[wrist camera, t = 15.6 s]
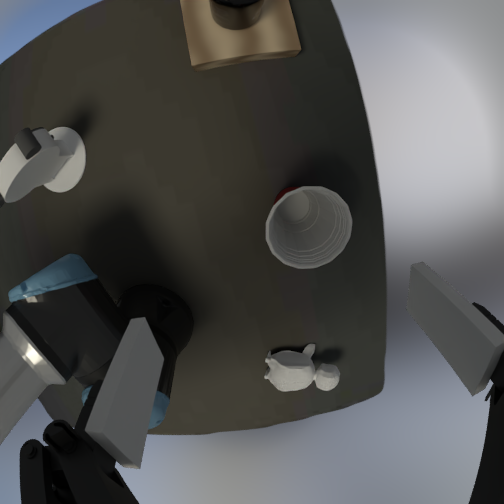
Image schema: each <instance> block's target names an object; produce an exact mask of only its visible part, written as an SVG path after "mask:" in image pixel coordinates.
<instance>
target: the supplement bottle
mask: <svg viewBox="0 0 504 504" xmlns="http://www.w3.org/2000/svg"><path fill="white" fill-rule="evenodd" d="M263 3H264V0H209V4H210V10H211V15H212V18H213V20H214V21H215V22H216V23H217V24H218V25H219V26H221V27H223V28H225V29H229V30H242V29H246V28H248V27H250V26H252V25H254V24H255V23H256V22H257V21H258V19H259V17H260V15H261V11H262V7H263Z"/></svg>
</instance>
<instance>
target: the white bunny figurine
mask: <svg viewBox="0 0 504 504" xmlns="http://www.w3.org/2000/svg"><path fill="white" fill-rule="evenodd" d="M314 351H315V344H312V343H311V344H309V345H307V346H306V347H305V349H304V351H303V352H302V353H298V352H294V351H290V350H289V351H288V350H287V351H281V352H278V353H275V354H273V355H272V356H271V351H269V353H268V355H267V358H266V360H265V362H267V363H268V365H269V367H270V369H269V368H268V369H267V371H266V374H265V379H269V380H270V382H271V383H272V384H273V385H274V386H275V387H276V388H277V389H279V390H280V391H293V390H295V391H297V390H300V389H303V388H306V387H308V386H309V385H310V384H311V383H312V381H313V380H315V381H316V386H317V387H318V388H320V389H322V390H325V391H328V390H331V389H333V388H334V387H335V386H336V385H337V384H338V382H339V376H340V372H339V370H338V368H337V367H336V366H335V365H332V364H325V363H322V364H321V365H320V366H319V368H318V369H317V371H315V367H314V364H313V362H312V360H311V356H312V355H313V353H314Z"/></svg>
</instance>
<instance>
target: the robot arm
mask: <svg viewBox="0 0 504 504" xmlns="http://www.w3.org/2000/svg"><path fill="white" fill-rule="evenodd" d="M8 295H9V300H10V302H13V303H12V305H11V306H10V307H9V308H8V309H7V310H6V311H5V312H4V315H3V330H2V332H1V333H0V445H1V443H2V442H3V441H4V439H5V438H6V437H7V435H8V434H9V433H10V431H11V430H12V429H13V427H14V426H15V425H16V423H17V422H18V421H19V420H20V419H21V417H22V416H23V415H24V413H25V412H26V411H27V410H28V408H29V407H30V406H31V405H32V403H33V402H34V401H35V400H36V399H37V397H38V396H39V395H40V394H41V393H42V391H43V390H44V389H45V388H46V387H47V385H49V384H65V383H66V382H67V381H68V380H69V379H70V378H71V376H72V375H73V376H74V377H75V378H76V379H77V380H78V381H79V383H81V384H82V385H83V386H84V388H85V389H84V390H83V392H82V402H83V405H84V406H83V408H82V410H81V413H80V415H79V418H78V420H77V423H76V425H75V428H74V429H73V428H72V427H71V426H70V425H69V424H68V422H66V421H64V420H55V421H53V422H52V423H50V424H49V425H48V426H47V427H46V429H45V430H44V433H43V440H44V441H45V442H46V443H47V444H48V445H49V446H43V445H42V444H41V443H40V442H39V441H38V440H35V439H30V440H28V441H26V442H25V444H23V446H22V448H21V450H20V491H21V504H139V503H138V501H137V500H136V498H135V497H134V495H133V494H132V492H131V491H130V489H129V488H128V486H127V485H126V483H125V482H124V480H123V478H122V477H121V475H120V473H119V472H118V471H117V469H116V468H115V463H116V461H117V462H118V463H119V464H120V465H122V466H123V467H126V468H136V469H140V467H141V462H142V456H143V451H144V446H145V441H146V436H147V431H148V429H151V428H154V427H156V426H158V425H159V424H160V423H161V422H162V421H163V419H164V417H165V413H166V409H167V407H168V405H169V402H170V393H171V387H172V381H173V376H174V370H175V364H176V359H177V357H178V355H179V354H180V352H181V351H182V350H183V349H184V348H185V347H186V345H187V344H188V342H189V340H190V338H191V335H192V329H193V318H192V314H191V312H190V310H189V308H188V306H187V305H186V304H185V302H184V301H183V300H182V299H181V298H180V297H179V296H177V295H176V294H175V293H173V292H172V291H170V290H168V289H165V288H163V287H160V286H156V285H138V286H135V287H132V288H130V289H129V290H127V291H126V292H125V293H124V294H123V295H122V296H121V298H120V299H119V301H118V303H117V304H115V303H114V301H113V300H112V298H111V297H110V296H109V294H108V293H107V291H106V290H105V288H104V287H103V286H102V284H101V283H100V281H99V280H98V276H97V275H96V274H94V273H93V272H92V271H91V269H90V268H89V267H88V265H87V264H86V262H85V261H84V260H83V258H82V257H81V256H79V255H77V254H73V253H71V254H67V255H65V256H63V257H62V258H60V259H58V260H57V261H55V262H53V263H52V264H50V265H48V266H47V267H45V268H44V269H42V270H40V271H39V272H37V273H36V274H34V275H33V276H31V277H30V278H28V279H27V280H25V281H23V282H22V283H21V284H19V285H17V286H16V287H14V288H13V289H11V290H10V291H9V293H8ZM406 310H407V312H408V313H409V314H410V315H411V316H412V318H413V319H414V320H415V321H416V322H417V324H418V325H419V326H420V327H421V329H422V330H423V331H424V332H425V333H426V335H427V336H428V337H429V338H430V340H431V341H432V342H433V344H434V345H435V346H436V347H437V349H438V350H439V351H440V352H441V354H442V355H443V356H444V358H445V359H446V360H447V362H448V363H449V364H450V365H451V367H452V368H453V370H454V371H455V372H456V374H457V375H458V377H459V378H460V379H461V381H462V382H463V384H464V385H465V386H466V387H467V389H468V391H469V392H470V393H471V395H472V396H474V395H475V394H477V393H479V392H480V391H482V390H484V389H485V388H486V386H487V384H488V382H489V380H490V379H491V381H492V382H493V383H494V384H493V385H492V387H491V389H490V391H489V393H488V394H487V396H486V399H485V401H487V400H488V398H489V397H490V395H491V398H490V409H489V416H488V424H487V431H486V437H485V443H484V448H483V452H482V457H481V462H480V466H479V470H478V474H477V478H476V481H475V485H474V488H473V491H472V495H471V498H470V501H469V504H504V325H503V324H502V323H501V322H500V321H499V320H496V318H495V317H494V316H493V315H491V313H490V312H489V311H488V310H487V309H486V308H485V307H483V306H481V305H479V304H477V303H475V302H474V303H472V304H471V303H470V302H469V301H468V300H467V299H466V298H465V297H464V296H463V295H461V294H460V293H459V292H458V291H457V290H456V289H454V288H453V287H452V286H451V285H450V284H449V283H447V281H445V280H444V279H443V278H441V276H439V275H438V274H437V273H436V272H435V271H433V270H432V269H431V268H430V267H429V266H427V265H426V264H425V263H424V262H420V263H417V264H413V265H411V271H410V283H409V292H408V302H407V309H406ZM52 485H53V486H52Z"/></svg>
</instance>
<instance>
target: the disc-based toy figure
mask: <svg viewBox="0 0 504 504" xmlns="http://www.w3.org/2000/svg"><path fill="white" fill-rule="evenodd" d="M14 141H15V144H14V145H13V146H12V147H11V148H10V149H9V151H8V152H7V153H6V155H5V156H4V158H3V159H2V161H1V162H0V207H2V206H3V204H4V202H6V203H11V202H15V201H17V200H19V199H21V198H22V197H24V196H25V195H27V194H28V193H29V192H30V191H31V190H32V189H33V188H35V187H38V186H40V185H43V184H44V186H45V187H47V188H48V189H49V190H51V191H54V192H65V191H68V190H70V189H72V188H73V187H74V186H75V185H76V184H77V183H78V182H79V181H80V179H81V177H82V176H83V173H84V170H85V166H86V149H85V145H84V142H83V140H82V138H81V137H80V135H79V134H78V133H77V132H76V131H74V130H73V129H71V128H68V127H58V128H55V129H53V130H51V131H49V132H48V131H47V130H46V129H44V128H43V127H39V128H36V129H33V130H30V128H25V129H23V130H21V131H20V132H19V133H18V134H17V135H16V136H15V138H14Z"/></svg>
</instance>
